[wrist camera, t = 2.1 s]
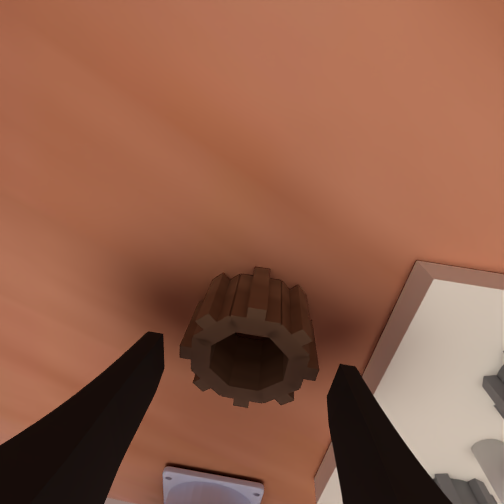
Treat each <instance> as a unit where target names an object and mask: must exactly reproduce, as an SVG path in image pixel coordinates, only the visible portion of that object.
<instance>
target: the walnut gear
mask: <svg viewBox="0 0 504 504" xmlns="http://www.w3.org/2000/svg"><path fill="white" fill-rule="evenodd" d="M269 275H270V269H266V268H259V267H255V270H254V276H252V275H246V274H241V275H240V274H239V275H237V276H236V277H234V278H233V279H231V280H229V278H228V277H227V276H226V275H225V274H224V273H222V274H221V275H219V276H218V277H216V278H214V279H213V280H212V282H211V285H210V287H209V290H208V292H207V294H206V297H205V299H204V301H203V302H199V303H198V306H197V308H196V310H195V312H194V315H193V317H192V319H191V321H190V324H189V326H188V328H187V330H186V333H185V335H184V337H183V340H182V342H181V344H180V358H185V359H190V360H191V369H192V371H193V372H194V373H195V377H194V380H193V383H194V384H195V385H196V386H197V387H198V388H199V389H200V390H202V391H205V390H208V389H210V388H212V389H213V390H214V391H215V392H216V393H217V394H218V395H221V396H222V397H228V398H234V402H233V405H234V406H240V407H245V408H248V404H249V401H251V402H257V403H262V402H263V403H266V402H268V401H271V400H273V399H275V400H276V401H277V402H278V403H279V404H280V405H283V404H286V403H288V402H291V401H294V391H296V390H299V388H301V385H302V382H303V379H307V380H313V381H315V380H316V377H317V374H318V372H319V365H318V358H317V351H316V345H315V338H314V331H313V325H312V320H310V318H309V311H308V304H307V296H306V294H305V293H304V291H303V290H302V289H301V288H300V286H299V285H297V286H295V287H294V288H292V289H290V290H289V289H288V287H287V286H286V285H285V284H284V283H283V281H281V280H276V279H270V278H269ZM236 332H238V333H244V334H250V335H256V336H262V337H268V338H267V339H265V340H263V341H260V340H254V339H248V338H242V337H238V336H237V335H236V334H235V333H236Z"/></svg>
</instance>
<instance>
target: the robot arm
mask: <svg viewBox="0 0 504 504" xmlns="http://www.w3.org/2000/svg"><path fill="white" fill-rule="evenodd" d="M163 371H164V343H163V334H161V333H155V332H147V333H146V334H145V335H143V336H142V337H141V338H140V339H139V340H138V341H137V342H136V343H135V344H134V345H133V346H132V347H131V348H130V349H129V350H127V351H126V352H125V353H124V354H123V355H122V356H121V357H120V358H119V359H117V360H116V361H115V362H114V363H113V364H112V365H111V366H109V367H108V368H107V369H106V370H105V371H104V372H102V373H101V374H100V375H99V376H98V377H96V378H95V379H94V380H93V381H91V382H90V383H89V384H88V385H86V386H85V387H84V388H83V389H81V390H80V391H79V392H78V393H76V394H75V395H74V396H72V397H71V398H70V399H68V400H67V401H66V402H64V403H63V404H62V405H60V406H59V407H58V408H56V409H55V410H53V411H52V412H50V413H49V414H48V415H46V416H45V417H43V418H42V419H40V420H39V421H37V422H36V423H34V424H33V425H31V426H30V427H28V428H27V429H25V430H24V431H22V432H21V433H19V434H18V435H16V436H14V437H13V438H11V439H10V440H8V441H6V442H5V443H3V444H2V445H0V504H104V503H105V500H106V498H107V495H108V493H109V490H110V488H111V485H112V483H113V480H114V478H115V476H116V473H117V471H118V468H119V466H120V464H121V462H122V459H123V457H124V455H125V453H126V451H127V449H128V447H129V445H130V443H131V441H132V439H133V437H134V435H135V433H136V431H137V429H138V427H139V425H140V423H141V421H142V419H143V417H144V415H145V413H146V411H147V409H148V407H149V405H150V403H151V401H152V399H153V397H154V395H155V392H156V390H157V387H158V384H159V382H160V379H161V376H162V373H163ZM327 407H328V420H329V428H330V434H331V440H332V445H333V451H334V456H335V462H336V467H337V472H338V478H339V483H340V489H341V494H342V501H343V504H453V503H452V502H451V501H450V500H449V499H448V497H447V496H446V495H445V494H444V493H443V491H442V490H441V489H440V488H439V487H438V485H437V484H436V483H435V482H434V480H433V479H432V478H431V477H430V475H429V474H428V473H427V472H426V470H425V469H424V468H423V466H422V465H421V464H420V462H419V461H418V460H417V458H416V457H415V456H414V454H413V453H412V452H411V450H410V449H409V448H408V446H407V445H406V443H405V442H404V441H403V439H402V438H401V436H400V435H399V433H398V432H397V431H396V429H395V428H394V426H393V425H392V423H391V422H390V420H389V419H388V417H387V416H386V414H385V413H384V411H383V410H382V408H381V407H380V405H379V403H378V402H377V400H376V399H375V397H374V396H373V394H372V392H371V391H370V389H369V388H368V386H367V384H366V383H365V381H364V379H363V378H362V376H361V375H360V373H359V371H358V370H357V368H356V367H355V366H349V365H343V364H340V365H339V368H338V370H337V373H336V375H335V378H334V380H333V383H332V385H331V388H330V390H329V392H328V395H327ZM263 493H264V485H263V484H261V483H258V482H253V481H247V480H242V479H236V478H231V477H225V476H220V475H214V474H209V473H204V472H198V471H193V470H187V469H182V468H176V467H171V466H167V467H165V468H164V471H163V494H164V504H260V503H261V500H262V496H263Z"/></svg>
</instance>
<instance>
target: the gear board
mask: <svg viewBox="0 0 504 504" xmlns="http://www.w3.org/2000/svg"><path fill="white" fill-rule="evenodd" d="M362 378H363V379H364V381H365V383H366V384H367V386H368V388H369V389H370V391H371V392H372V394H373V396H374V397H375V399H376V400H377V402H378V403H379V405H380V407H381V408H382V410H383V411H384V413H385V414H386V416H387V417H388V419H389V420H390V422H391V423H392V425H393V426H394V428H395V429H396V431H397V432H398V433H399V435H400V436H401V438H402V439H403V441H404V442H405V443H406V445H407V446H408V448H409V449H410V450H411V452H412V453H413V454H414V456H415V457H416V458H417V460H418V461H419V462H420V464H421V465H422V466H423V468H424V469H425V470H426V472H427V473H428V474H429V475H430V477H431V478H432V479H433V480H434V482H435V483H436V484H437V485H438V487H439V488H440V489H441V490H442V491H443V493H444V494H445V495H446V496H447V497H448V499H449V500H450V501H451V502H452V503H453V504H504V274H499V273H493V272H487V271H481V270H474V269H468V268H462V267H455V266H449V265H443V264H436V263H430V262H424V261H417V260H416V262H415V265H414V267H413V269H412V271H411V273H410V275H409V277H408V280H407V282H406V284H405V286H404V288H403V290H402V292H401V294H400V297H399V299H398V301H397V303H396V305H395V307H394V309H393V312H392V314H391V316H390V318H389V320H388V322H387V324H386V326H385V329H384V331H383V333H382V335H381V337H380V339H379V341H378V344H377V346H376V348H375V350H374V352H373V354H372V356H371V359H370V361H369V363H368V365H367V367H366V369H365V371H364V373H363V376H362ZM314 483H315V494H316V504H343V501H342V494H341V489H340V483H339V478H338V472H337V467H336V462H335V456H334V451H333V445H332V442H331V444H330V446H329V448H328V450H327V452H326V455H325V457H324V459H323V461H322V463H321V465H320V467H319V470H318V472H317V474H316V476H315V478H314Z"/></svg>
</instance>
